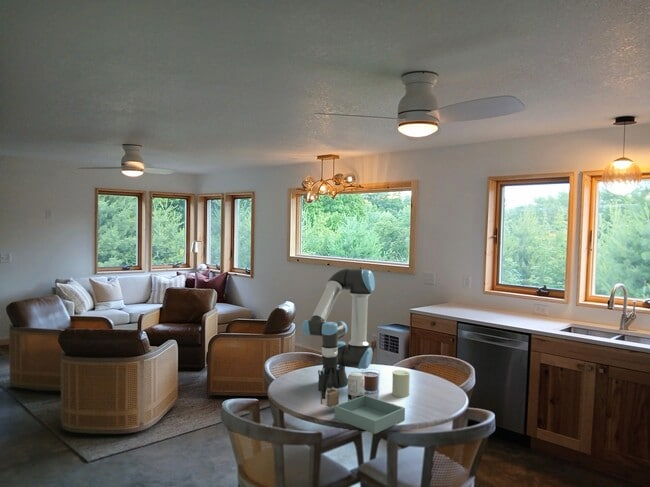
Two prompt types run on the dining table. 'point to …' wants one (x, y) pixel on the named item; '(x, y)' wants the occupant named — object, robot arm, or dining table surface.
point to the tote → (370, 413)
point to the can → (400, 383)
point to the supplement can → (355, 385)
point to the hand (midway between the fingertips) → (329, 403)
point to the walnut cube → (331, 397)
